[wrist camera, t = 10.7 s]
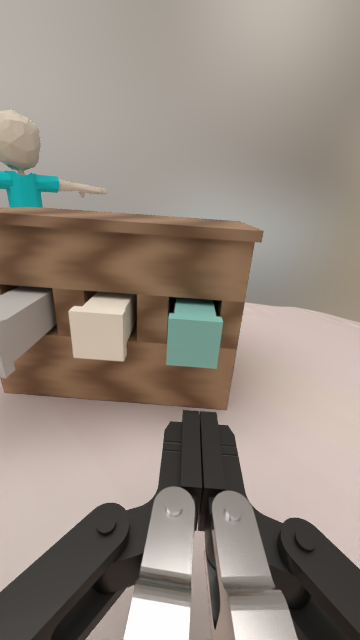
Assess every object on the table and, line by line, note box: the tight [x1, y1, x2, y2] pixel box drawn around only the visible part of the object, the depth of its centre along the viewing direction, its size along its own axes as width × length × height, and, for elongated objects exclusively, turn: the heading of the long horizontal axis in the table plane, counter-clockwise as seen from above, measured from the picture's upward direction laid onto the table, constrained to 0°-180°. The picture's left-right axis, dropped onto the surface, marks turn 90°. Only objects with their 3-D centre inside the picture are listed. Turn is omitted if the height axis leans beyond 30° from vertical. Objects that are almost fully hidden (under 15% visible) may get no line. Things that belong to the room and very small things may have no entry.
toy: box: [0, 110, 107, 208], centre depth 49 cm, size 30×9×30 cm, turn 126°
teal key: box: [166, 297, 223, 369], centre depth 24 cm, size 4×9×4 cm, turn 178°
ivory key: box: [68, 291, 137, 362], centre depth 24 cm, size 4×9×4 cm, turn 178°
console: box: [0, 207, 263, 410], centre depth 28 cm, size 23×11×17 cm, turn 88°
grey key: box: [0, 286, 57, 378], centre depth 21 cm, size 4×9×4 cm, turn 177°
